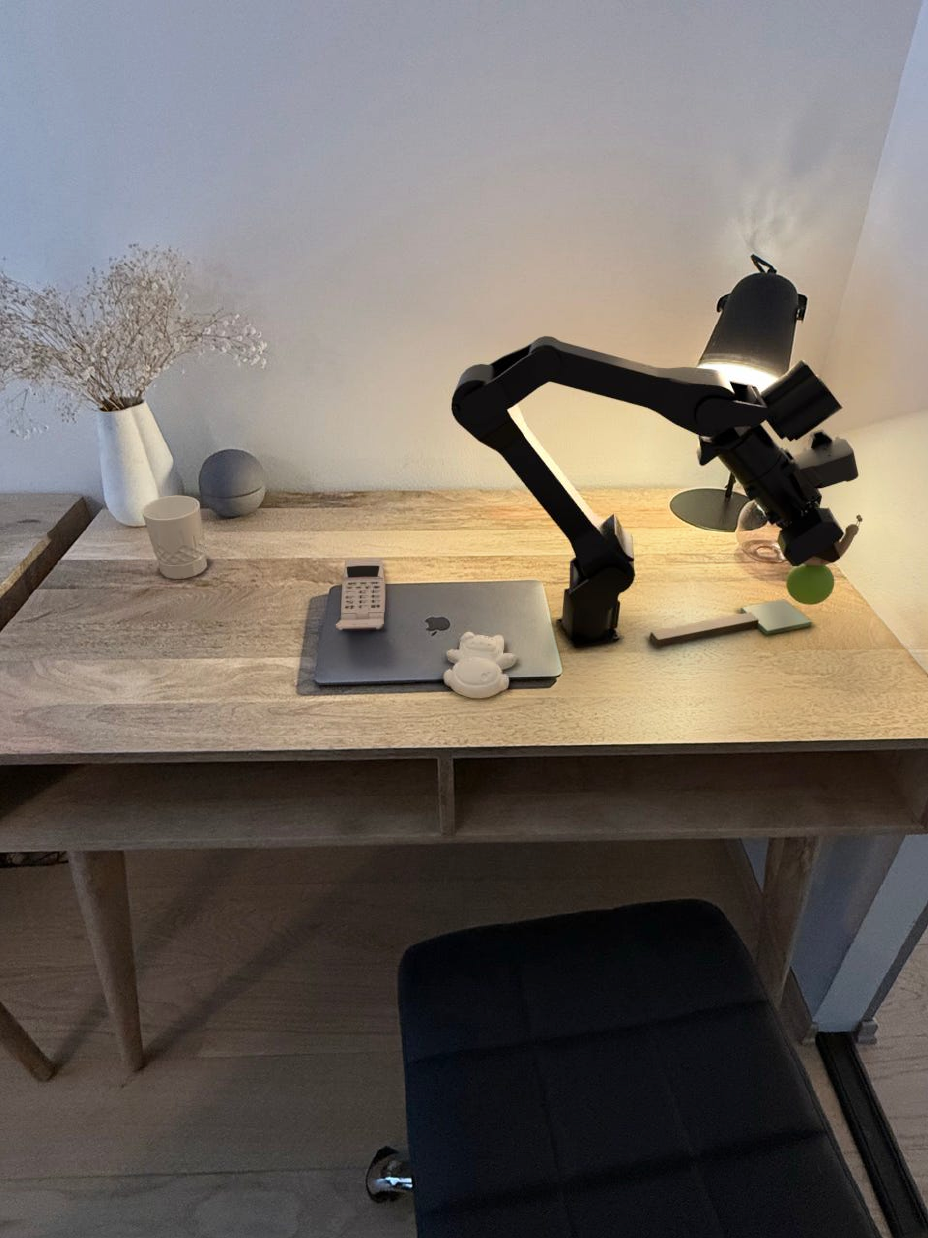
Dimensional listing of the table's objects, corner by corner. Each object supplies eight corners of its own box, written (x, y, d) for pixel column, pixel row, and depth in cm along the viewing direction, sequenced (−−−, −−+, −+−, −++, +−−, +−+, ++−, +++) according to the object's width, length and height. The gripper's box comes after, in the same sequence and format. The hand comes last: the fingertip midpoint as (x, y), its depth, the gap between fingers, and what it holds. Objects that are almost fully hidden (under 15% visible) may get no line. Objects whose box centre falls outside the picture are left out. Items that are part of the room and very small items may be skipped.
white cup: (145, 575, 121) (129, 514, 116) (179, 551, 127) (166, 491, 122) (189, 586, 119) (175, 523, 113) (222, 560, 125) (210, 500, 119)
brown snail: (841, 615, 100) (869, 527, 93) (787, 611, 100) (811, 523, 94) (829, 591, 104) (855, 505, 98) (777, 588, 105) (800, 502, 98)
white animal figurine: (522, 646, 106) (523, 626, 104) (503, 703, 96) (504, 683, 95) (456, 636, 108) (456, 617, 106) (431, 692, 98) (430, 672, 97)
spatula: (664, 656, 104) (666, 648, 104) (642, 630, 109) (643, 623, 108) (811, 626, 110) (813, 618, 109) (783, 603, 115) (785, 595, 114)
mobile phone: (334, 628, 99) (342, 530, 120) (337, 667, 102) (344, 566, 123) (384, 626, 100) (383, 529, 120) (386, 665, 103) (385, 564, 124)
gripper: (847, 451, 82) (926, 555, 87) (804, 391, 98) (873, 482, 103) (749, 517, 87) (830, 612, 92) (723, 450, 103) (794, 534, 108)
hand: (834, 555), depth 99 cm, fingers closed on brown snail
